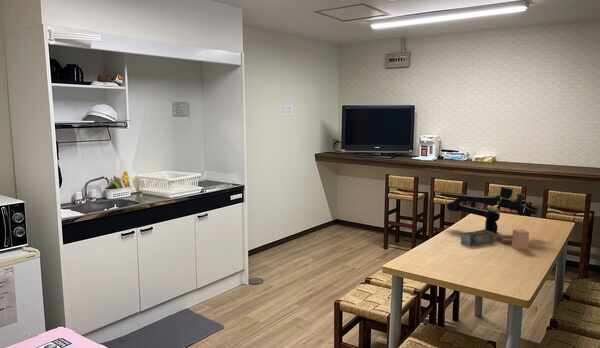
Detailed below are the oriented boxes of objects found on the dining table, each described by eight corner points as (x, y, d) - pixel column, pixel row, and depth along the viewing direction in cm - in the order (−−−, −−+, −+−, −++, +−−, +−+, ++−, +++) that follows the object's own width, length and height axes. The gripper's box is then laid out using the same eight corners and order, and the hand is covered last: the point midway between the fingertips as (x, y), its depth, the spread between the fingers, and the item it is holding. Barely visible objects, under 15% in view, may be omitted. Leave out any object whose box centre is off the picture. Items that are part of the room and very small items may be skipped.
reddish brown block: (511, 246, 255) (512, 229, 253) (521, 246, 255) (523, 229, 254) (517, 249, 249) (518, 232, 247) (527, 249, 249) (529, 232, 248)
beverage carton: (459, 242, 263) (460, 231, 262) (484, 238, 270) (484, 228, 269) (469, 246, 255) (470, 235, 254) (494, 242, 263) (495, 231, 262)
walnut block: (495, 240, 268) (496, 235, 268) (511, 239, 269) (512, 234, 268) (504, 245, 258) (504, 240, 258) (521, 244, 259) (521, 239, 259)
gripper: (511, 194, 267) (540, 201, 260) (513, 189, 284) (540, 195, 277) (507, 212, 270) (535, 219, 263) (509, 206, 286) (536, 212, 279)
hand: (537, 211), depth 270 cm, fingers open, 9 cm apart
